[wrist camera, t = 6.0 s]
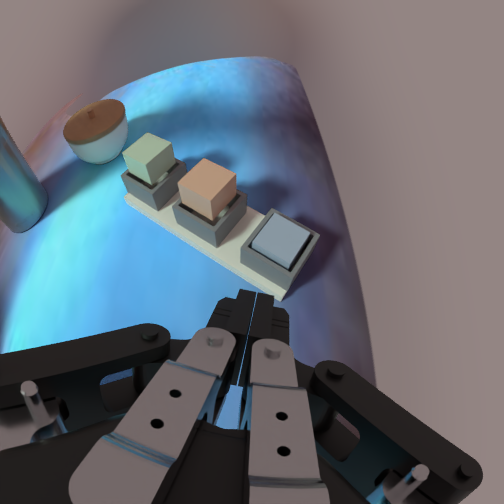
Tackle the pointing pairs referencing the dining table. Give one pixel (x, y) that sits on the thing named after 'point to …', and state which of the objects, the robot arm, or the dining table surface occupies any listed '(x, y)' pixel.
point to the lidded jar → (98, 131)
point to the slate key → (281, 241)
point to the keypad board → (216, 229)
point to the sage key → (149, 157)
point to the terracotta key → (208, 188)
